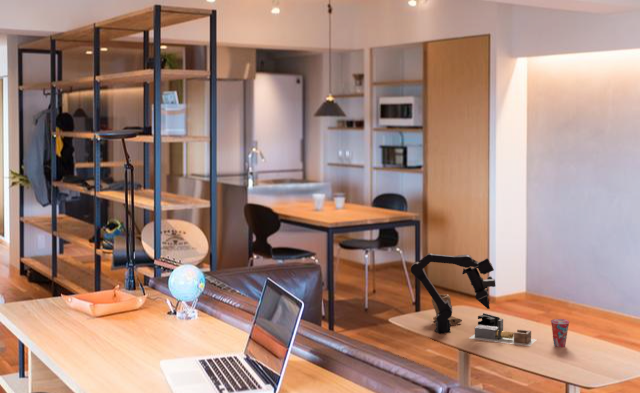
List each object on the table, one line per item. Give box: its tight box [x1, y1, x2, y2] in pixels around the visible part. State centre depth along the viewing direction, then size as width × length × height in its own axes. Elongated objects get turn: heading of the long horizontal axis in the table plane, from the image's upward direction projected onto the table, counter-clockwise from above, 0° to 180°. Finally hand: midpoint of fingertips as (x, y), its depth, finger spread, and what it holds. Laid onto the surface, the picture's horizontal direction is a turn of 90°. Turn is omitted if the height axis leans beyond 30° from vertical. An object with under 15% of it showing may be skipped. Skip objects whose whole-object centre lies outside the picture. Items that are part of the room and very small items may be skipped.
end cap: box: [477, 313, 501, 327], centre depth 413 cm, size 10×7×7 cm
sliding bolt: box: [496, 318, 514, 339], centre depth 393 cm, size 17×4×9 cm, turn 60°
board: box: [468, 333, 538, 347], centre depth 391 cm, size 30×13×1 cm, turn 60°
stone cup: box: [431, 293, 463, 326], centre depth 425 cm, size 15×12×15 cm
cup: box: [550, 318, 570, 348], centre depth 379 cm, size 9×8×12 cm
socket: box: [513, 329, 532, 344], centre depth 386 cm, size 6×7×5 cm
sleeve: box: [474, 324, 498, 340], centre depth 395 cm, size 10×6×5 cm, turn 60°
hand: (488, 306), depth 401 cm, fingers open, 9 cm apart
